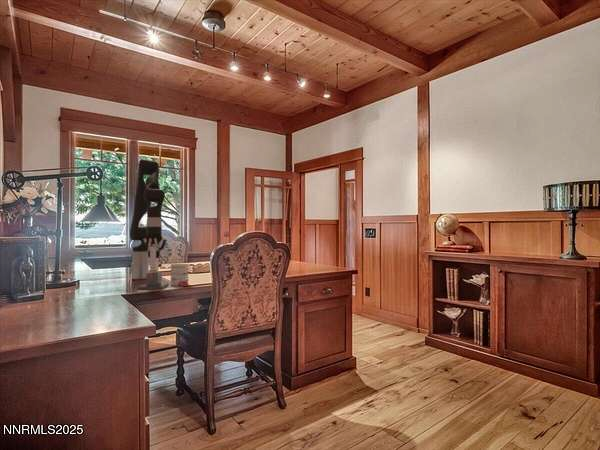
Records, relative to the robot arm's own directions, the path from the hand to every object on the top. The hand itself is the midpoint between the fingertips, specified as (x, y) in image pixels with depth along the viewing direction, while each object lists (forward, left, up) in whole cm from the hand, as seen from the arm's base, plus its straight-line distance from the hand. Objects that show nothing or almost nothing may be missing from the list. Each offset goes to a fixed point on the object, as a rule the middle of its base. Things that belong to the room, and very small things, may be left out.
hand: (153, 257), depth 187 cm
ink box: (+11, +9, -16) cm, 22 cm away
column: (0, 0, -9) cm, 9 cm away
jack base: (0, 0, -16) cm, 16 cm away
